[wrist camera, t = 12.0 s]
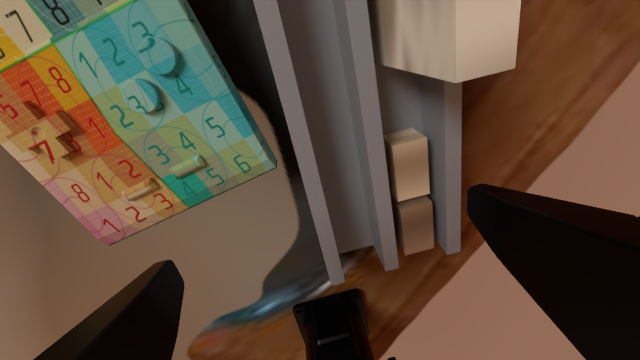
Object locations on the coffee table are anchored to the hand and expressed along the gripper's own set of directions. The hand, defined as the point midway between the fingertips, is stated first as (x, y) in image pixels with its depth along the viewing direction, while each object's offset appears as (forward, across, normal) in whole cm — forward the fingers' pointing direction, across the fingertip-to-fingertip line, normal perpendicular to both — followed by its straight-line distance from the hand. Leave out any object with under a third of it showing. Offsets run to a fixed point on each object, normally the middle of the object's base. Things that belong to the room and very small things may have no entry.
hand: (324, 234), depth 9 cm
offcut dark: (+11, -6, +8) cm, 15 cm away
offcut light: (+11, -6, +3) cm, 13 cm away
